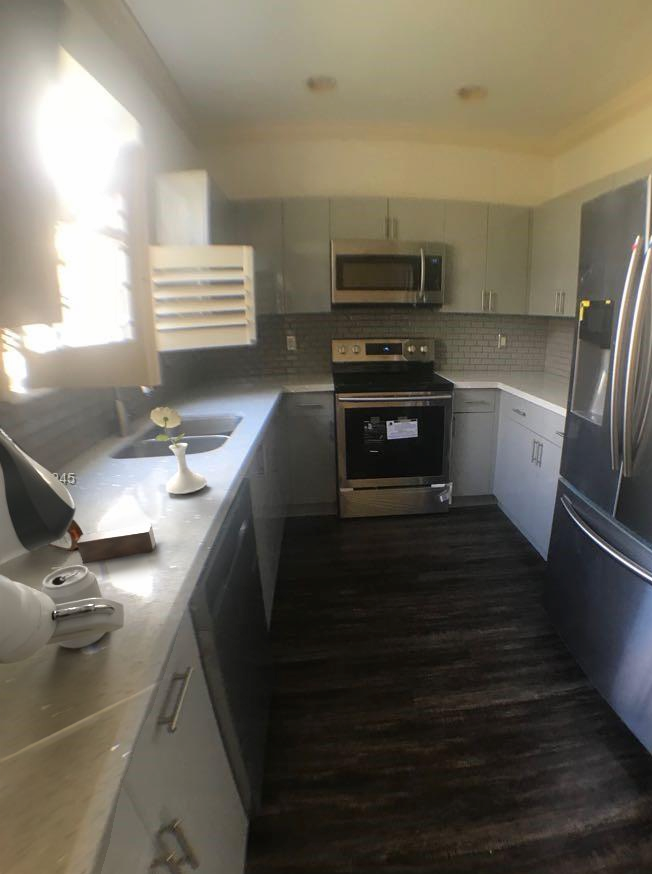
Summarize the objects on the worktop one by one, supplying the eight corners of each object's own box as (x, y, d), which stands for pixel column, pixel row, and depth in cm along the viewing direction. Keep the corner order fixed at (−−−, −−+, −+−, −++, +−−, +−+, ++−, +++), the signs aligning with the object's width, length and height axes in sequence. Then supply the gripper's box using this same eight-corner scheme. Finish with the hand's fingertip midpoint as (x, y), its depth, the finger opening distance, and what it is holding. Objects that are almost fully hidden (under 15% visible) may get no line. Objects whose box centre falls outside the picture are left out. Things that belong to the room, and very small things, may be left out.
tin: (89, 548, 105) (78, 515, 101) (75, 555, 102) (64, 521, 99) (48, 536, 111) (38, 505, 107) (35, 542, 108) (23, 510, 105)
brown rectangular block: (82, 563, 98) (76, 543, 97) (87, 554, 102) (81, 534, 100) (153, 551, 102) (148, 531, 100) (155, 543, 106) (151, 523, 104)
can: (56, 634, 77) (34, 574, 72) (106, 615, 81) (88, 557, 77) (62, 659, 71) (38, 594, 67) (115, 637, 76) (96, 575, 72)
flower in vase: (215, 483, 140) (200, 402, 131) (192, 498, 130) (174, 412, 120) (178, 481, 143) (161, 402, 134) (153, 495, 133) (133, 410, 124)
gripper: (106, 580, 59) (136, 599, 71) (-90, 615, 53) (-21, 630, 66) (107, 629, 57) (138, 641, 69) (-98, 672, 51) (-25, 676, 63)
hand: (59, 636), depth 67 cm, fingers closed
